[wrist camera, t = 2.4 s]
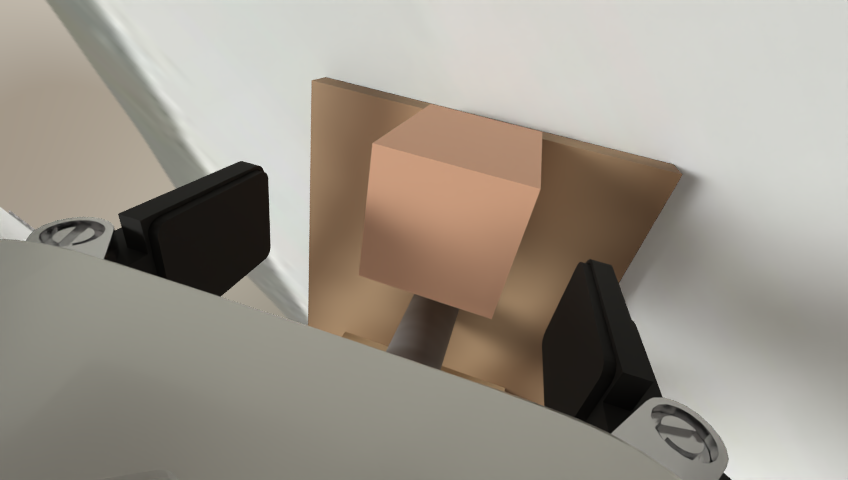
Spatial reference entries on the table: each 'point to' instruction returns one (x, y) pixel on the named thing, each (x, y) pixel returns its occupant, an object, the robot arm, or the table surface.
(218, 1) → the table surface
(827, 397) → the table surface
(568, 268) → the wooden board with post
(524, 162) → the salmon orange block
